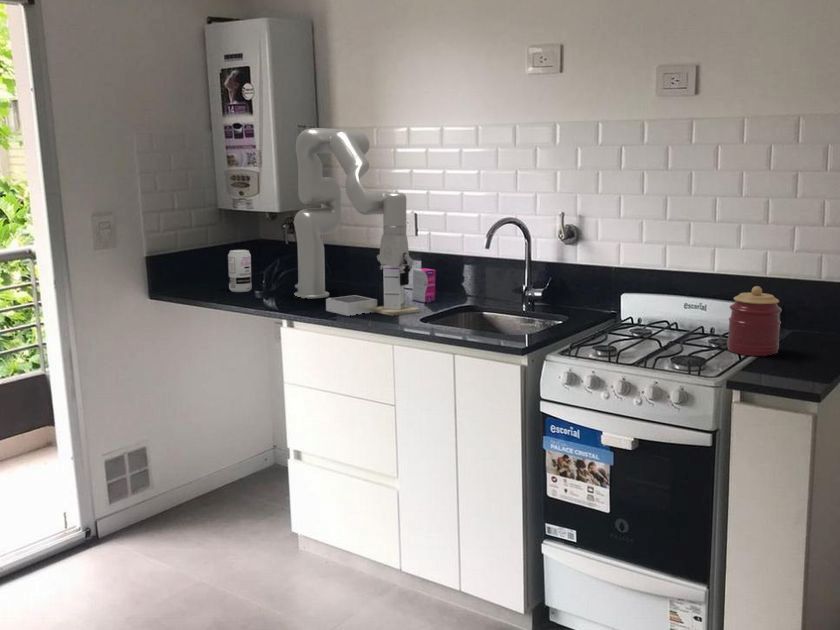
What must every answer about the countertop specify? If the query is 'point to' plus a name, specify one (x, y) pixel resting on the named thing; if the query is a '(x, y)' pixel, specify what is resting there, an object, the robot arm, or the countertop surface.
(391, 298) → the syrup box
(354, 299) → the flat grey box
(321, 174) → the robot arm
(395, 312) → the birch board
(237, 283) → the supplement can
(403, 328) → the countertop surface
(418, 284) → the supplement box
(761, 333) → the canister
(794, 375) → the countertop surface
